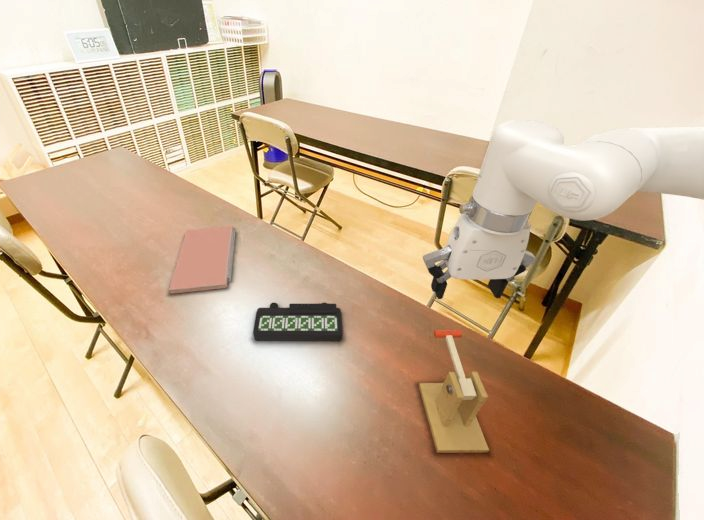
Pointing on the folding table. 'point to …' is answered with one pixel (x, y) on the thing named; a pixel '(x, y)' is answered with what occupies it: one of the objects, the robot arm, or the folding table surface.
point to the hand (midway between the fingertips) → (465, 292)
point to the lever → (457, 362)
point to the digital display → (298, 323)
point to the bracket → (454, 415)
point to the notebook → (204, 260)
